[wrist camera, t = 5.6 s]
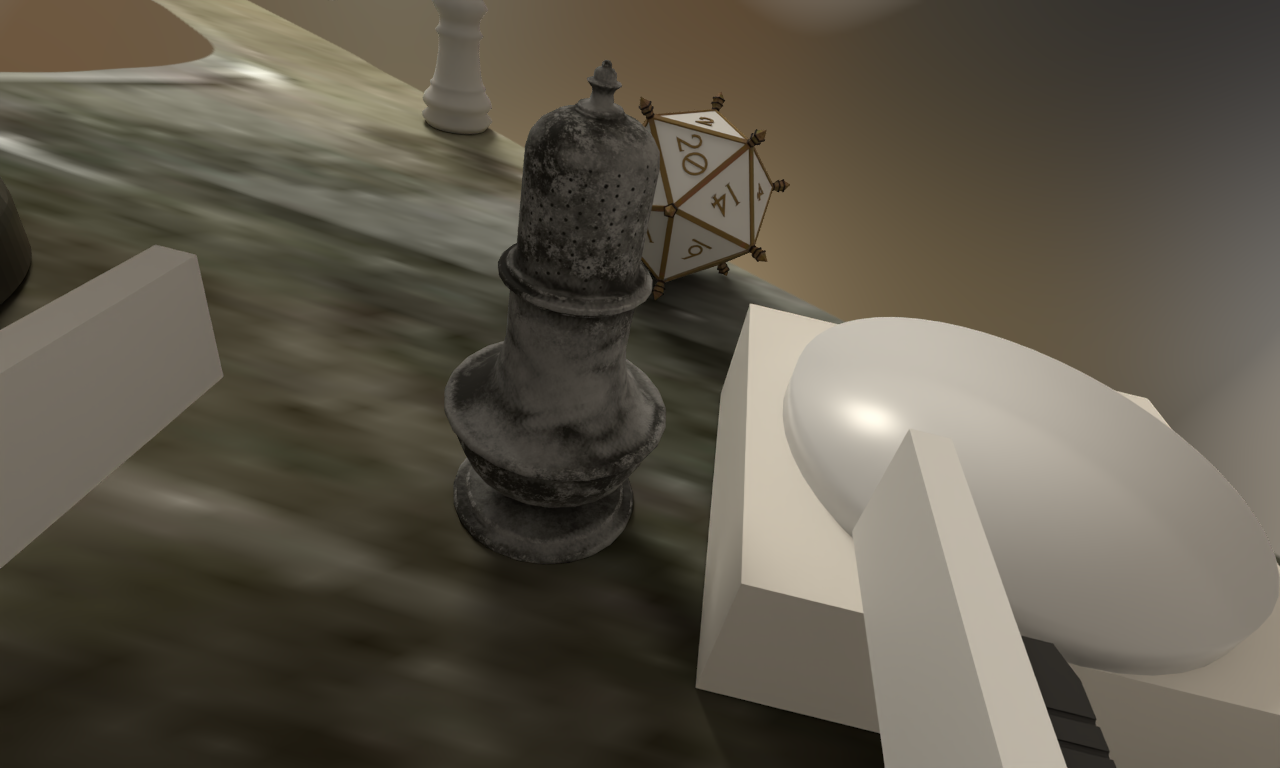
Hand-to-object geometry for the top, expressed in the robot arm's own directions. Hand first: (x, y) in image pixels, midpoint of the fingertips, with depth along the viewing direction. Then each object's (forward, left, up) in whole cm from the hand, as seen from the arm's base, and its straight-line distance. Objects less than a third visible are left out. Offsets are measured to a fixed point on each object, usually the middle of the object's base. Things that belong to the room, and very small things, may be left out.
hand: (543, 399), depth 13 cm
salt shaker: (0, +4, -7) cm, 8 cm away
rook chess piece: (-14, +34, -7) cm, 38 cm away
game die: (+2, +20, -7) cm, 22 cm away
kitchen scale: (+12, +5, -7) cm, 14 cm away
